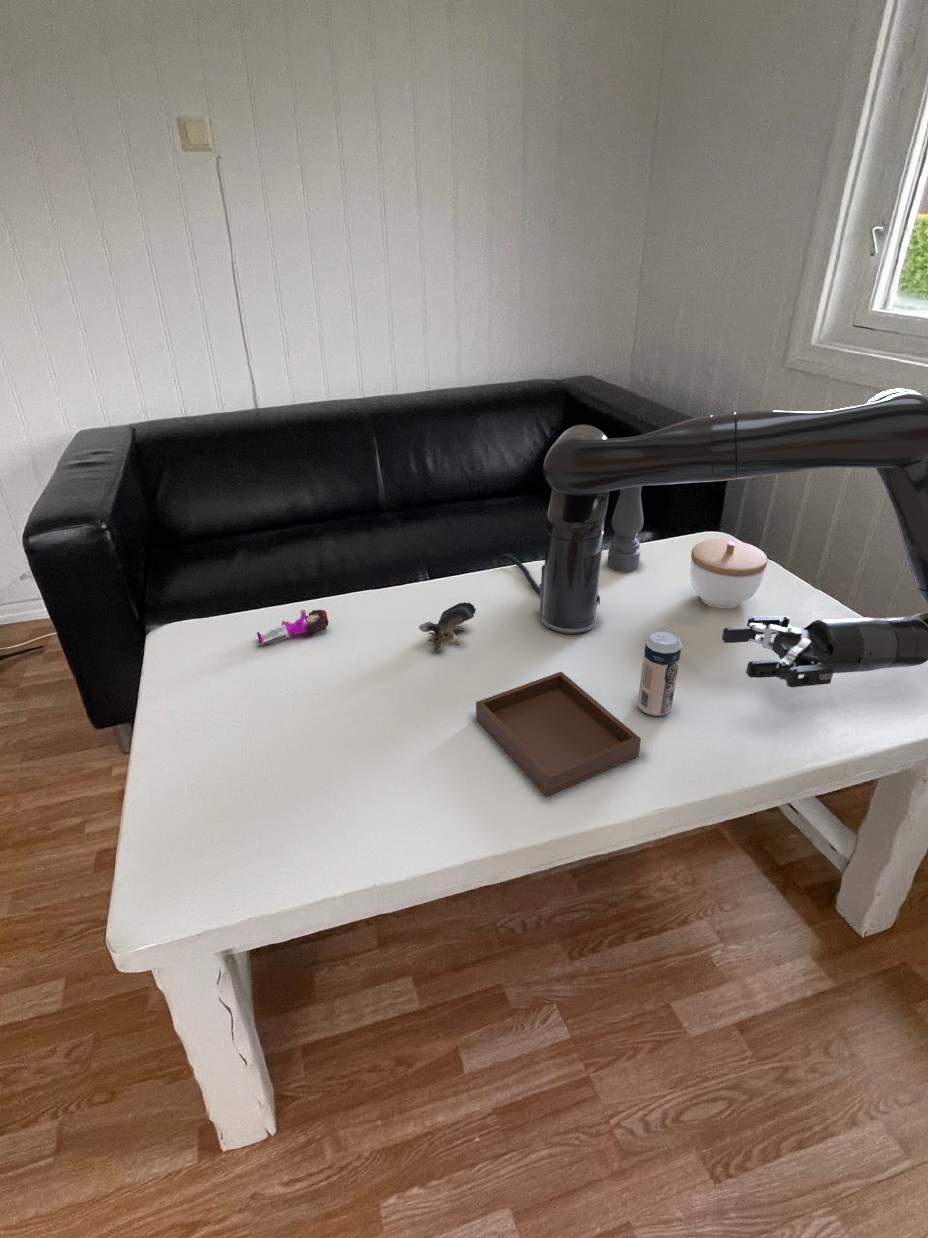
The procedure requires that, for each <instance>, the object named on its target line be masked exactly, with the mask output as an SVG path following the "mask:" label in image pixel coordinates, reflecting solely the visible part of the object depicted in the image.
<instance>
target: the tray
mask: <svg viewBox="0 0 928 1238" xmlns="http://www.w3.org/2000/svg"><path fill="white" fill-rule="evenodd" d="M475 719H476V720H477V721H478V723H479V724H480V725H481V726H482V727H483V728H484V729H485V730H486V731H487V733H488V734H489V735H490V736H491V737H492V738H493V740H495V742H497V744H498V745H499V746H500V747H501V748H502V749H503V750H504V751H505V752H506V753H507V755H508V756H509V757H510V758H511V759H512V760H513V761H514V762H515V764H517V766H518V767H519V768H520V769H521V770H522V771H523V773H524V774H526V775H527V776H528V778H529V779H530V781H532V782H533V783H534V784H535V786H536V787H537V788H538V789H539V790H540V791H541V792H542V793H543V794H544V795H545V797H549V796H552V795H555V794H556V793H558V792H561V791H563V790H565V789H567V788H570V787H572V786H575V785H576V784H579V783H581V782H583V781H585V780H588V779H591V778H593V777H595V776H597V775H600V774H601V773H604V772H606V771H608V770H610V769H613V768H615V767H618V766H620V765H622V764H623V763H626V762H629V761H631V760H633V759H635V758H638V757H639V756H640V749H641V742H642V738H641V737H640V736H639V735H637V734H636V732H634V731H632V730H631V729H630V728H629V726H626V724H624V723H623V722H622V721H621V720H620V719H618V718H617V717H616V716H615V715H614V714H612V713H611V712H610V711H609V710H608V709H607V708H605V707H604V706H603V705H602V704H600V702H598V701H597V700H596V699H594V697H593V696H591V695H590V694H589V693H588V692H587V691H585V689H583V688H581V686H579V685H578V684H577V683H575V682H574V681H573V680H572V679H571V678H570V677H568V676H567V675H566V674H565V673H564V672H562V671H558V672H556V673H553V674H550V675H548V676H547V675H546V676H544V677H542V678H538V679H536V680H533V681H531V682H527V683H525V684H521V685H520V686H516V687H514V688H510V689H508V690H505V691H503V692H500V693H497V694H494V695H491V696H489V697H486V698H483V699H479V700H477V701H475Z"/></svg>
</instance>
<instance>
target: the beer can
mask: <svg viewBox="0 0 928 1238" xmlns="http://www.w3.org/2000/svg"><path fill="white" fill-rule="evenodd" d="M644 642H645V645H644V651H643V660H642V666H641V667H642V668H641V675H640V682H639V689H638V690H639V691H638V697H637V707H638V708H639V710H641V711H642V712H643V713H646V714H648V715H650V716H663V715H664V716H665V715H667V714H669V713H670V712H671V710H672V706H673V700H674V695H675V690H676V689H675V688H676V683H677V676H678V671H679V670H678V669H679V665H680V657H681V653H682V652H681V651H682V647H683V645H682V641H681V640H680V636H679V635H678V634H676V633H675V632H674V631H672V630H667V629H655V630H653V631H652V632H650V633H649V635H647V637H645V641H644Z"/></svg>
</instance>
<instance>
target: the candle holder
mask: <svg viewBox="0 0 928 1238" xmlns="http://www.w3.org/2000/svg"><path fill="white" fill-rule="evenodd" d="M642 487H643V486H637V487H630V488H624V489H619V496H618V498H617V501H616V505H615V508H614V511H613V515H612V516H611V523H610V524H611V527H612V529H613V531H614V536H613V538H612V539H611V540H610V543H609V545H610V546H609V547H608V553H607V563H606V564H607V565H606V566H607V567H608V569H610V570H612V571H615V572H617V573H631V572H635V571H636V570H638V569H639V566H640V556H641V549H640V546H641V545H640V544H641V543H640V541H639V539H638V538H637V537H638V535H639V533H640V532H641V530H642V529H643V527H644V522H645V521H644V511H643V505H642V495H641V494H642Z"/></svg>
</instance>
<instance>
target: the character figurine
mask: <svg viewBox="0 0 928 1238" xmlns="http://www.w3.org/2000/svg"><path fill="white" fill-rule="evenodd" d="M329 623H330V622H329V619H328V613H327V611H326V610H325V609H313V610H312V611H310V612H308V615H307V611H306V610H305V609H301V610H300V617H299V619H296V620H295V621H294V622H291V621H290V620H288V621H287V620H281V625H279V626H277V627H274V628H273V629H271V630H269V631H267V632H265V633H263V634H262V633H260V632H259V631H257V632H256V635H257V638H258V641H259V644H260V646H261V647H264V646H266V645H269V644H274V643H276V642H279V641H282V640H285V639H291V638H292V637H293V635H295V634H299V635H300V634H301V635H302V634H305V633H307V634H308V636H312V635H316V634H319V633H320V632H322V631H323V630H327V626H329Z"/></svg>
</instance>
